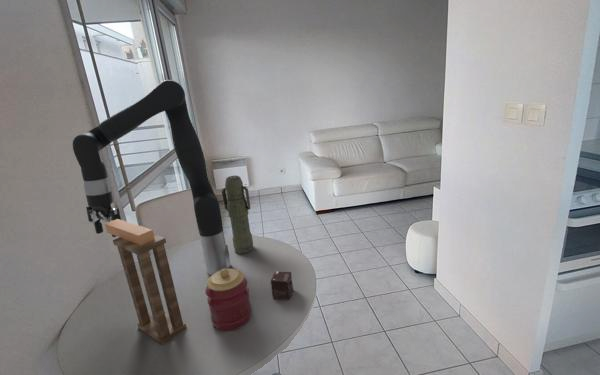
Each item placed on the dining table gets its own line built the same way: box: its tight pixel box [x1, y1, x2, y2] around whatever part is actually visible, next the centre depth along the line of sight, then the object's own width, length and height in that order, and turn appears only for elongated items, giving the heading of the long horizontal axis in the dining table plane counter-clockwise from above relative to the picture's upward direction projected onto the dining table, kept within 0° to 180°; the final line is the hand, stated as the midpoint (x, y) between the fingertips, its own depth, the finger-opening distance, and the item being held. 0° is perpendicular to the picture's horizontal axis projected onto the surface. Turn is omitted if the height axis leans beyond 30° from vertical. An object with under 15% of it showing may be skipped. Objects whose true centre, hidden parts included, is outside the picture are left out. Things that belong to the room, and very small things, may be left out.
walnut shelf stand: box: [112, 233, 187, 345], centre depth 94 cm, size 14×8×31 cm, turn 55°
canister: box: [204, 268, 253, 332], centre depth 97 cm, size 13×13×18 cm
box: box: [270, 271, 294, 300], centre depth 108 cm, size 6×6×7 cm
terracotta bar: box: [104, 219, 155, 245], centre depth 92 cm, size 20×4×3 cm, turn 55°
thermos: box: [221, 175, 254, 255], centre depth 139 cm, size 9×12×35 cm
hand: (107, 234), depth 112 cm, fingers open, 8 cm apart
